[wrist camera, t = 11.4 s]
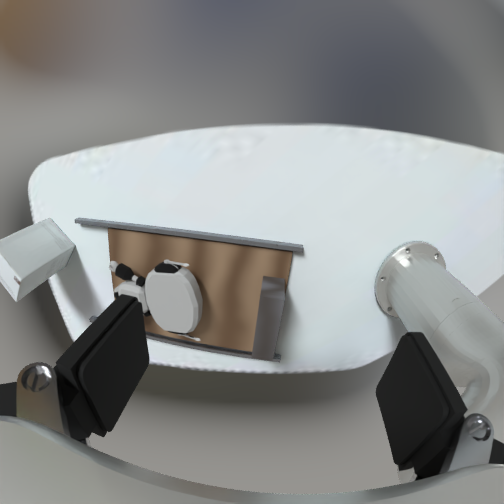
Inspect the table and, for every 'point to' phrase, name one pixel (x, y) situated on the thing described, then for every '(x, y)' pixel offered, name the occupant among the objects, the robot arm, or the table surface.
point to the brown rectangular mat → (216, 285)
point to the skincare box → (32, 257)
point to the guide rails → (201, 236)
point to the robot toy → (164, 295)
